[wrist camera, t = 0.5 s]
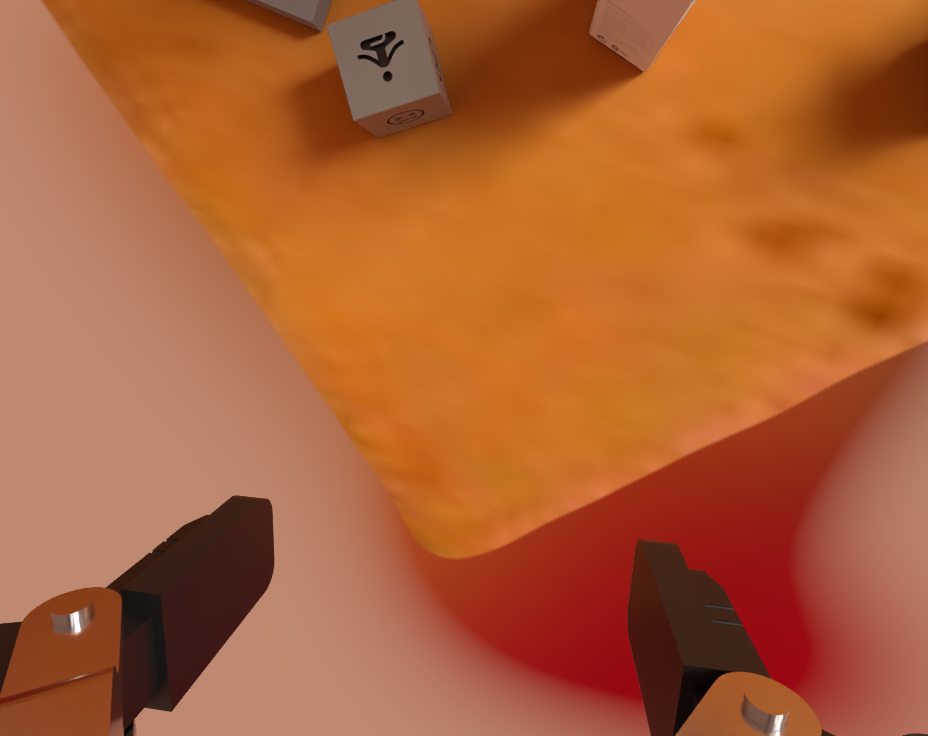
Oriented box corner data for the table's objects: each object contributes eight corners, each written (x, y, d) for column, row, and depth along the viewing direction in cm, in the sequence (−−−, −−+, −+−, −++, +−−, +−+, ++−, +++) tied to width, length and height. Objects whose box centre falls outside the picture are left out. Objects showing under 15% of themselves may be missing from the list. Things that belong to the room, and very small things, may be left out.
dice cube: (431, 30, 34) (414, -7, 29) (452, 114, 35) (439, 92, 30) (355, 56, 35) (326, 25, 30) (378, 138, 35) (353, 120, 31)
